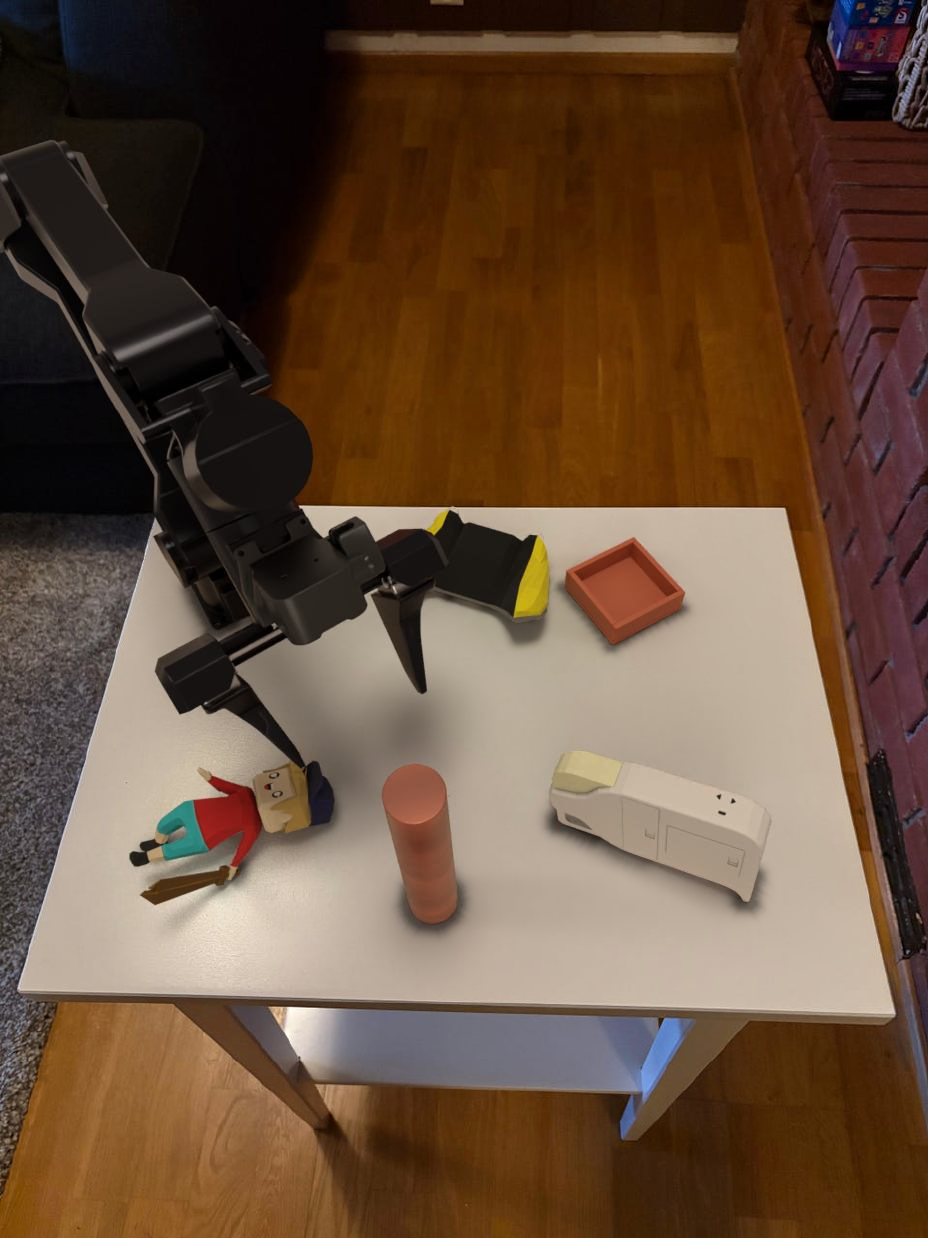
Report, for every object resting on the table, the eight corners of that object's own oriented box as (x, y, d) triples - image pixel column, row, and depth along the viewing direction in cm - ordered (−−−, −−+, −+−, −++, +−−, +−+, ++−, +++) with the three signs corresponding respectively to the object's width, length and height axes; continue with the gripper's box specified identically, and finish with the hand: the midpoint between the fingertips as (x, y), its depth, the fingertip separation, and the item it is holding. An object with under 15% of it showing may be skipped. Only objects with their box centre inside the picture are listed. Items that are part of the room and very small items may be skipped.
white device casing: (566, 805, 70) (757, 869, 64) (554, 836, 68) (748, 904, 63) (556, 734, 61) (776, 801, 56) (542, 768, 60) (766, 840, 54)
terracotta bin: (564, 586, 80) (566, 570, 78) (630, 553, 82) (634, 536, 80) (612, 645, 76) (615, 629, 74) (680, 608, 78) (685, 592, 76)
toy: (111, 786, 63) (313, 723, 66) (139, 826, 68) (325, 766, 71) (126, 903, 57) (345, 828, 60) (154, 938, 62) (356, 867, 65)
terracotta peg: (400, 890, 64) (370, 783, 48) (442, 866, 65) (426, 752, 49) (423, 933, 62) (400, 836, 47) (466, 907, 63) (458, 803, 48)
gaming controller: (534, 652, 76) (571, 568, 81) (537, 616, 71) (575, 529, 76) (379, 602, 79) (423, 524, 84) (372, 564, 75) (419, 485, 80)
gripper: (105, 593, 42) (258, 850, 46) (424, 433, 48) (535, 674, 52) (101, 582, 52) (227, 794, 56) (365, 451, 58) (462, 652, 62)
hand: (363, 728), depth 57 cm, fingers open, 9 cm apart
